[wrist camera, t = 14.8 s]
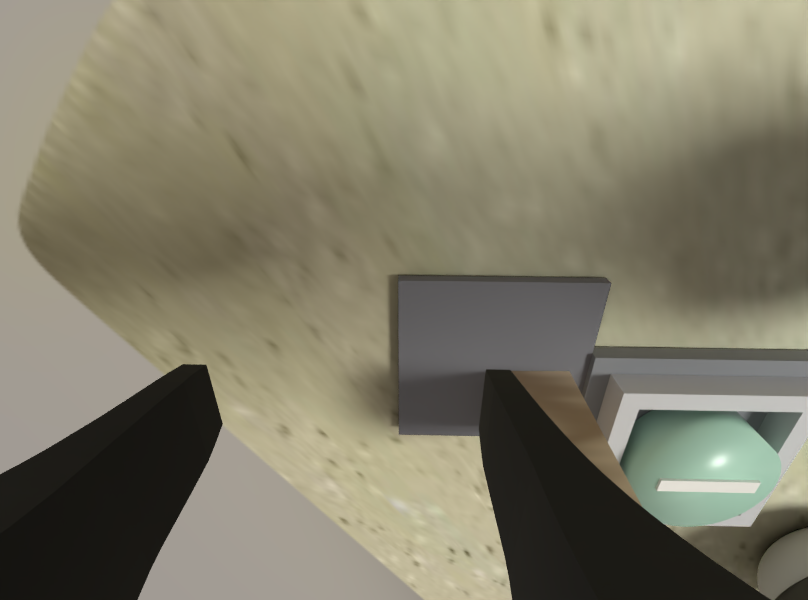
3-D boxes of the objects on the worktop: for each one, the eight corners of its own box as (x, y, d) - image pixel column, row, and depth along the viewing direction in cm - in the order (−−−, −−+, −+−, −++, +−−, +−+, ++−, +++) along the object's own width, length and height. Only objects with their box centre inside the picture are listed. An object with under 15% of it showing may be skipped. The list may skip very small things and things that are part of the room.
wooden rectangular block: (570, 370, 22) (661, 537, 14) (557, 427, 24) (630, 603, 16) (492, 370, 22) (537, 535, 14) (486, 427, 24) (522, 601, 16)
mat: (606, 278, 20) (611, 283, 19) (566, 430, 24) (569, 437, 24) (398, 275, 20) (398, 280, 19) (399, 426, 25) (398, 434, 24)
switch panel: (819, 350, 21) (866, 380, 19) (732, 500, 27) (760, 537, 25) (588, 346, 22) (607, 376, 19) (549, 496, 27) (561, 532, 25)
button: (766, 400, 22) (809, 439, 19) (718, 488, 25) (750, 530, 23) (633, 398, 22) (659, 436, 19) (602, 486, 25) (622, 527, 23)
